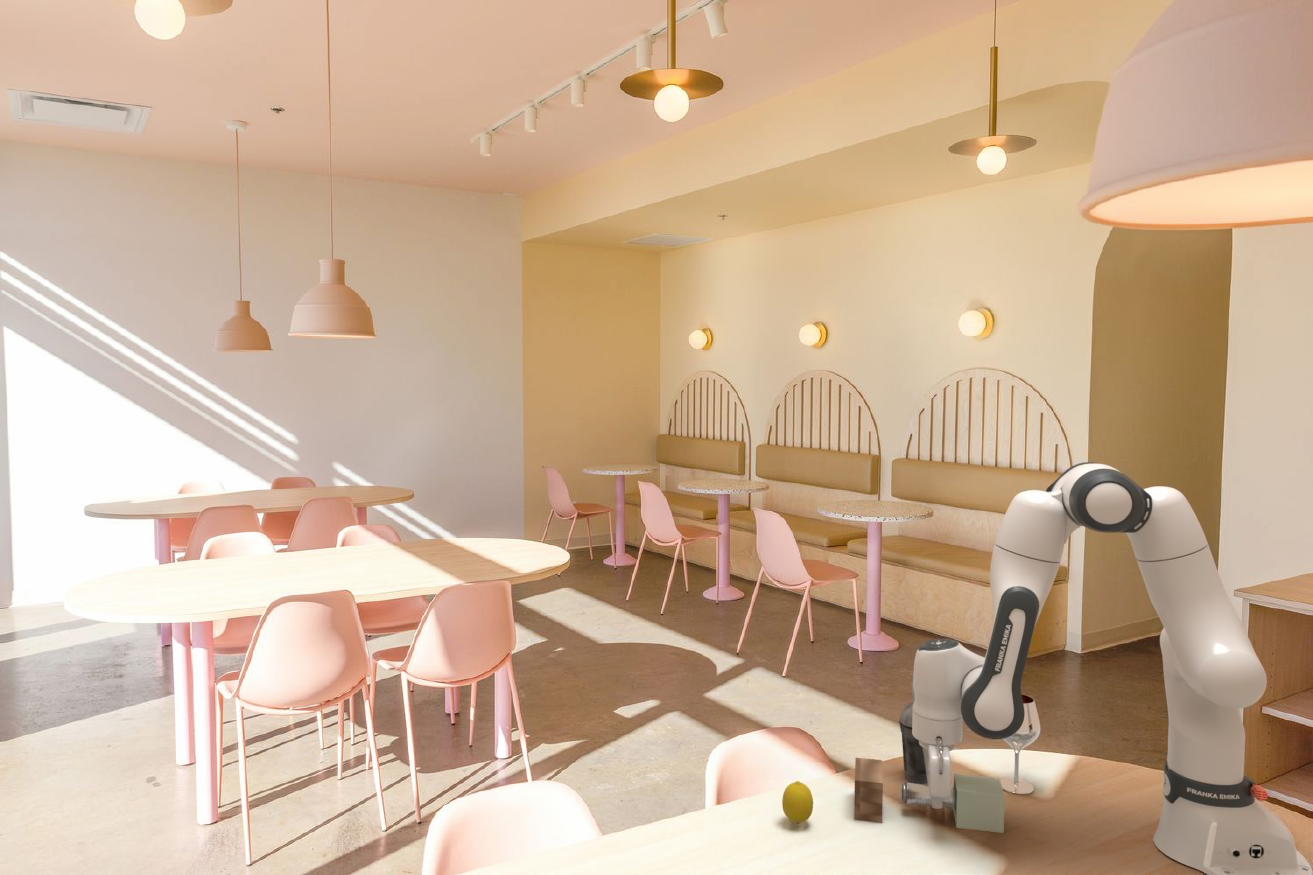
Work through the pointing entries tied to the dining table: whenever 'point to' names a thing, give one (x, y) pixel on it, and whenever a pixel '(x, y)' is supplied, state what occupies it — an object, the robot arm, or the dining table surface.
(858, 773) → the socket
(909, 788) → the tube
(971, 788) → the sage green block
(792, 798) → the lemon
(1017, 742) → the wineglass
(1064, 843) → the dining table surface
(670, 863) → the dining table surface
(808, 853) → the dining table surface
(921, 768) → the beverage cup
